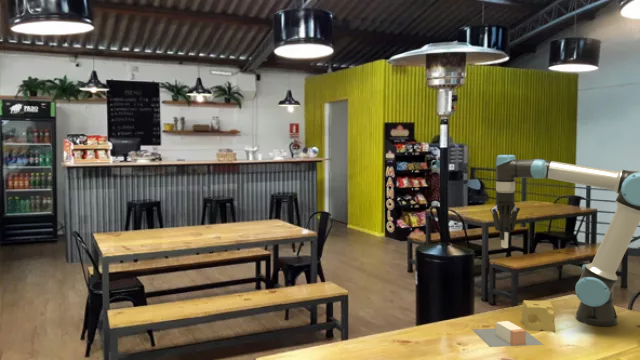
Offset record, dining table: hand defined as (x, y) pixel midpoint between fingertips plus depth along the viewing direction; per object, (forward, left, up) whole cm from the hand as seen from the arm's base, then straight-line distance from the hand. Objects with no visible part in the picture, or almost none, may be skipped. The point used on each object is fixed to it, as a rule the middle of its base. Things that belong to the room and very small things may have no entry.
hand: (504, 247), depth 225 cm
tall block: (+11, +23, -26) cm, 36 cm away
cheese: (-7, +16, -30) cm, 34 cm away
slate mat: (+10, +25, -29) cm, 40 cm away
